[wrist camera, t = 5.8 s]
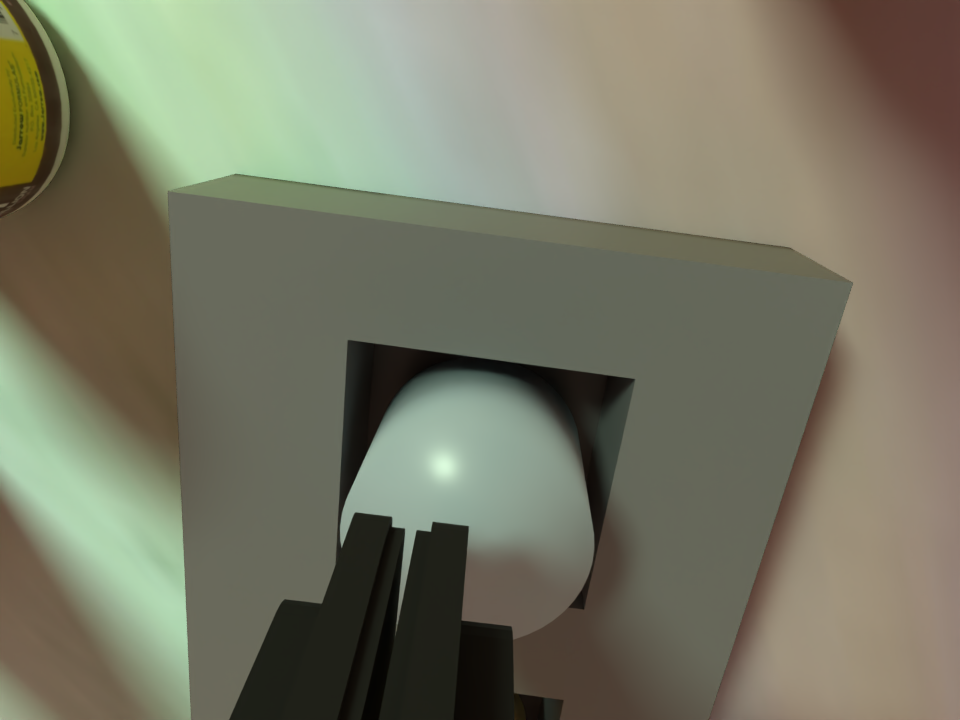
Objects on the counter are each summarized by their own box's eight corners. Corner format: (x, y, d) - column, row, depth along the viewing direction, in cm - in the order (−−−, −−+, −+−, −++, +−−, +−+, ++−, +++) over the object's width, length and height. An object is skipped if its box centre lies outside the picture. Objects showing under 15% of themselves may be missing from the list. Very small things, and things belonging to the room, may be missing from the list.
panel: (789, 248, 14) (853, 283, 12) (578, 975, 24) (585, 1091, 21) (236, 173, 15) (167, 191, 12) (242, 925, 24) (204, 1033, 21)
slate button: (596, 372, 14) (617, 450, 11) (561, 546, 16) (570, 660, 12) (386, 343, 14) (346, 413, 11) (372, 520, 16) (334, 627, 13)
